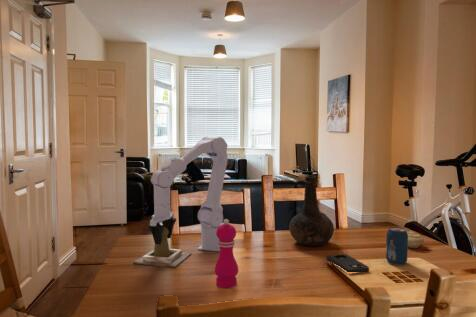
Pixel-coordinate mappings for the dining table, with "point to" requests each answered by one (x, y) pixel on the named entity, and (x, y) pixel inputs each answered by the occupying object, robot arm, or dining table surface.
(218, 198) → the robot arm
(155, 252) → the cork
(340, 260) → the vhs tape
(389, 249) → the soda can
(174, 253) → the collar board
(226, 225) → the pepper mill
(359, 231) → the dining table surface
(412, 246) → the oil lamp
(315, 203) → the dark bottle vase
